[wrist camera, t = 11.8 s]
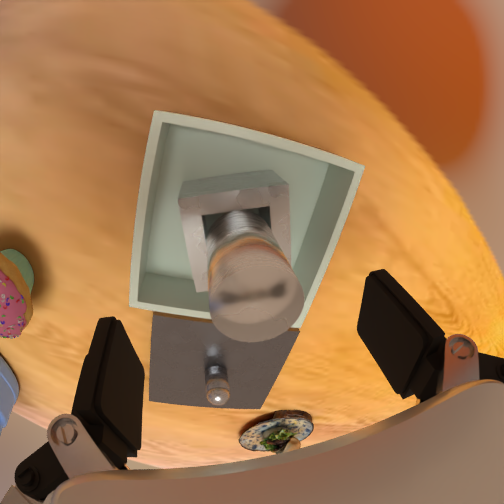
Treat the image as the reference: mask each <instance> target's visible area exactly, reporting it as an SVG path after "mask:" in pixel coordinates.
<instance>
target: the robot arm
mask: <svg viewBox="0 0 504 504" xmlns="http://www.w3.org/2000/svg"><path fill="white" fill-rule="evenodd" d="M357 331H358V334H359V336H360V337H361V339H362V340H363V342H364V344H365V345H366V347H367V348H368V350H369V351H370V353H371V354H372V356H373V358H374V359H375V361H376V362H377V364H378V365H379V367H380V369H381V370H382V372H383V373H384V375H385V377H386V378H387V380H388V381H389V383H390V385H391V386H392V388H393V390H394V391H395V393H397V394H400V395H401V397H402V399H405V398H407V397H409V396H411V395H413V394H415V396H416V397H417V400H416V406H414V407H412V408H409V409H407V410H405V411H403V412H401V413H398V414H396V415H394V416H392V417H389V418H387V419H385V420H382V421H380V422H378V423H375V424H373V425H370V426H368V427H365V428H362V429H360V430H357V431H354V432H352V433H349V434H346V435H343V436H340V437H337V438H334V439H331V440H328V441H325V442H321V443H318V444H315V445H311V446H308V447H304V448H300V449H296V450H293V451H288V452H284V453H280V454H276V455H271V456H266V457H261V458H256V459H251V460H245V461H239V462H233V463H226V464H218V465H209V466H200V467H188V468H173V469H147V470H145V469H144V470H130V468H129V467H128V466H127V465H126V463H127V457H137V450H140V449H141V432H142V408H143V391H144V378H145V373H144V368H143V366H142V364H141V362H140V360H139V358H138V356H137V354H136V352H135V350H134V348H133V346H132V344H131V342H130V340H129V337H128V335H127V333H126V331H125V329H124V327H123V325H122V322H121V321H120V320H116V318H115V317H105V318H100V319H99V320H98V323H97V326H96V329H95V333H94V336H93V339H92V343H91V346H90V349H89V353H88V354H87V355H86V357H85V359H84V363H83V366H82V370H81V374H80V378H79V382H78V386H77V390H76V394H75V398H74V403H73V407H72V412H71V414H62V415H59V416H57V417H56V418H54V419H53V420H52V421H51V423H50V425H49V427H48V430H47V438H48V442H47V443H45V444H44V445H43V446H42V447H40V448H39V449H38V450H37V451H35V452H34V453H33V454H31V455H30V456H29V457H28V458H26V459H25V460H24V461H23V462H21V463H20V464H19V465H18V467H17V468H16V471H15V483H16V486H13V485H12V486H11V487H10V488H9V490H8V492H7V493H6V495H5V496H4V498H3V500H2V501H1V503H0V504H504V358H500V357H495V356H491V355H487V354H483V353H479V352H478V349H477V346H476V344H475V342H474V341H473V340H472V339H471V338H469V337H467V336H465V335H462V334H454V335H451V336H450V337H448V339H446V338H445V337H444V335H445V333H444V331H443V330H442V329H441V328H440V327H439V326H438V325H437V324H436V322H435V321H434V320H433V319H432V318H431V317H430V316H429V315H428V314H427V313H426V311H425V310H424V309H423V308H422V307H421V306H420V305H419V304H418V303H417V302H416V301H415V300H414V299H413V298H412V296H411V295H410V294H409V293H408V292H407V291H406V290H405V289H404V288H403V287H402V286H401V285H400V284H399V283H398V282H397V281H396V280H395V279H394V278H393V277H392V276H391V275H390V274H389V273H388V272H387V271H386V270H385V269H381V270H376V271H372V272H370V274H369V276H367V277H366V280H365V286H364V292H363V298H362V303H361V309H360V314H359V319H358V324H357Z"/></svg>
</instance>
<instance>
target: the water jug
mask: <svg viewBox="0 0 504 504" xmlns="http://www.w3.org/2000/svg"><path fill="white" fill-rule="evenodd" d="M18 394H19V386H18V382H17V380H16V377H15V375H14V374H13V372H12V370H11V369H10V367H9V366H8V364H7V363H6V362H5V360H4V359H3V358H2V357H1V356H0V435H1V431H2V428H4V427H6V425H7V422H8V419H9V416H10V413H11V411H12V408H13V405H14V404H15V403H16V400H17V397H18Z"/></svg>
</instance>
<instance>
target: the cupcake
mask: <svg viewBox="0 0 504 504" xmlns="http://www.w3.org/2000/svg"><path fill="white" fill-rule="evenodd" d="M33 284H34V273H33V270H32V267H31V265H30V263H29V262H28V260H27V259H26V258H25V256H24V255H22V254H21V253H20V252H18V251H17V250H14V249H5V250H3V251H0V337H3V338H11V339H12V338H13V337H14V338H15V337H16V336H17V337H19V335H21V332H22V330H23V329H24V328H25V327H26V326H27V325H28V323H29V321H30V320H31V317H32V315H33V307H32V301H31V297H30V295H31V291H32V287H33Z"/></svg>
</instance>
